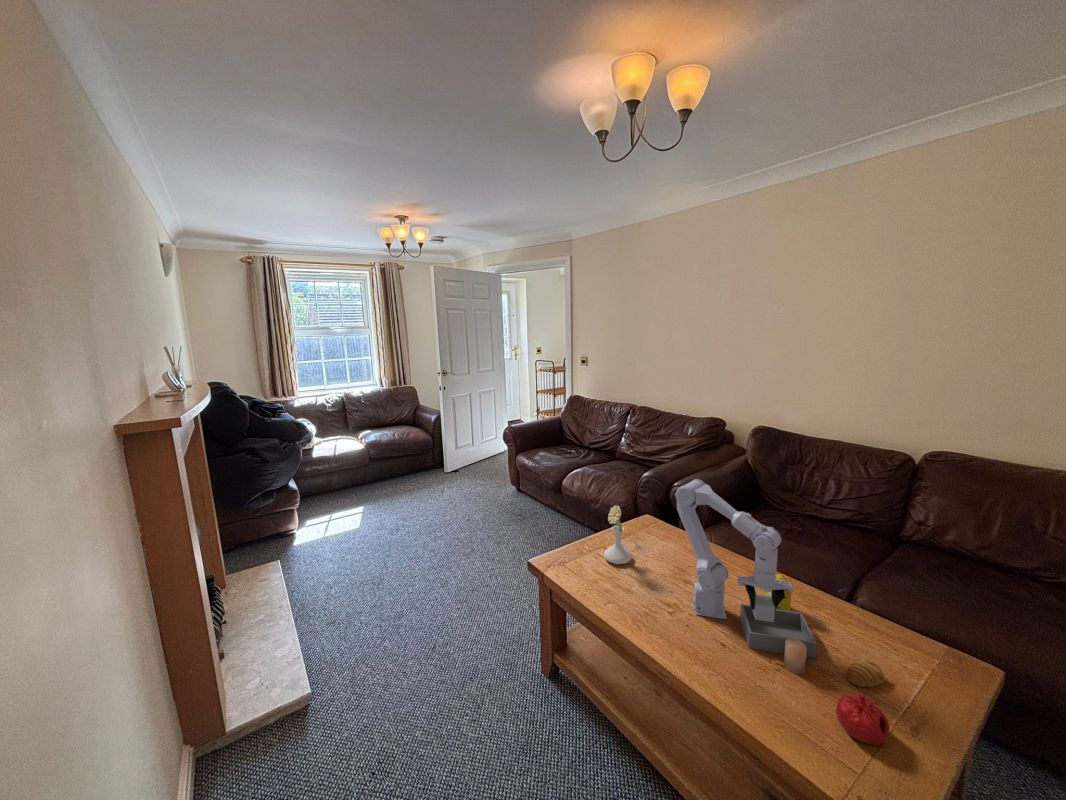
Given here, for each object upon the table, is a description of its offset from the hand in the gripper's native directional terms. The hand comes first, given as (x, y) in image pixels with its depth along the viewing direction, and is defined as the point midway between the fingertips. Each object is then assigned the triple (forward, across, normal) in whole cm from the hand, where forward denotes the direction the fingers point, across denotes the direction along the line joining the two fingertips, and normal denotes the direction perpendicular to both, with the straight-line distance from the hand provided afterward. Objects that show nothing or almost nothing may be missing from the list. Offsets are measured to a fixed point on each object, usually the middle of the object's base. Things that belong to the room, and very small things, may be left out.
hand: (762, 608), depth 125 cm
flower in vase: (+9, -46, +32) cm, 56 cm away
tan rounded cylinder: (+9, +6, -11) cm, 15 cm away
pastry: (+10, +23, -10) cm, 27 cm away
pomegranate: (+9, +15, -28) cm, 33 cm away
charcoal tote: (+9, +4, 0) cm, 10 cm away
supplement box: (+9, +8, +14) cm, 19 cm away
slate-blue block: (+2, 0, 0) cm, 2 cm away
